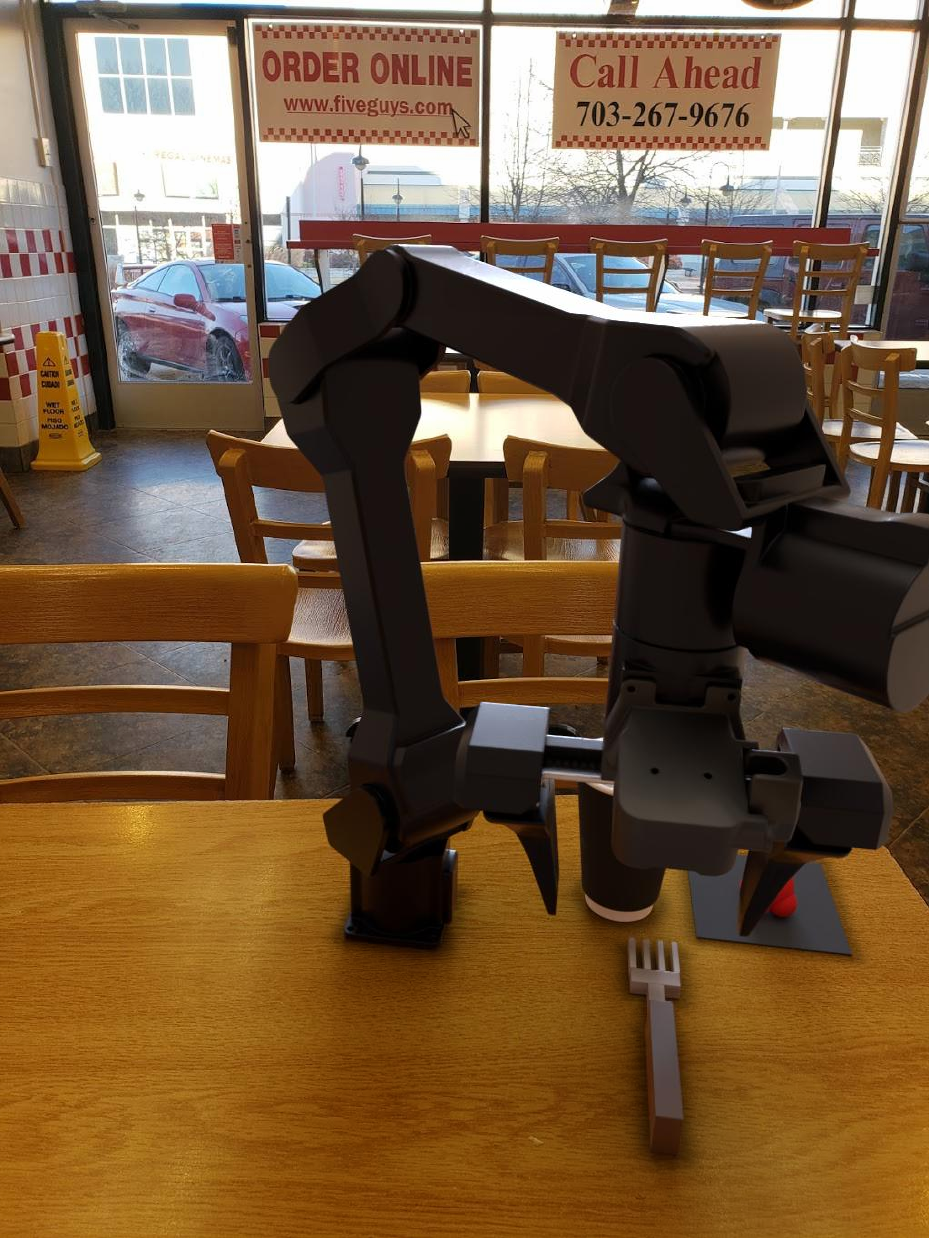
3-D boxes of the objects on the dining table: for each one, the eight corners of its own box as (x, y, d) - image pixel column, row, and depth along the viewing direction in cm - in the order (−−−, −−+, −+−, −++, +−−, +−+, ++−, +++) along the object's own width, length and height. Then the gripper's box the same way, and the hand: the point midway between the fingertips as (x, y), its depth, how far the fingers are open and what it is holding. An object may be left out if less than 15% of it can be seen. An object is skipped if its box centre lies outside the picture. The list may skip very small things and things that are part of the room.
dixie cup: (699, 920, 65) (718, 781, 60) (599, 949, 62) (613, 805, 58) (635, 855, 71) (649, 727, 67) (543, 879, 68) (551, 746, 64)
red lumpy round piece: (743, 919, 65) (750, 873, 63) (736, 888, 68) (743, 843, 66) (797, 924, 64) (805, 878, 63) (787, 893, 67) (795, 848, 66)
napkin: (696, 937, 63) (696, 936, 63) (685, 850, 72) (685, 849, 72) (851, 955, 62) (852, 954, 62) (820, 864, 71) (820, 863, 71)
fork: (695, 1158, 47) (701, 1122, 47) (633, 1149, 48) (638, 1113, 47) (675, 954, 61) (679, 923, 60) (627, 949, 62) (630, 918, 61)
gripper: (434, 687, 34) (430, 1019, 40) (976, 733, 32) (889, 1078, 38) (475, 587, 45) (467, 863, 50) (886, 616, 42) (829, 901, 48)
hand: (646, 920), depth 46 cm, fingers open, 9 cm apart
